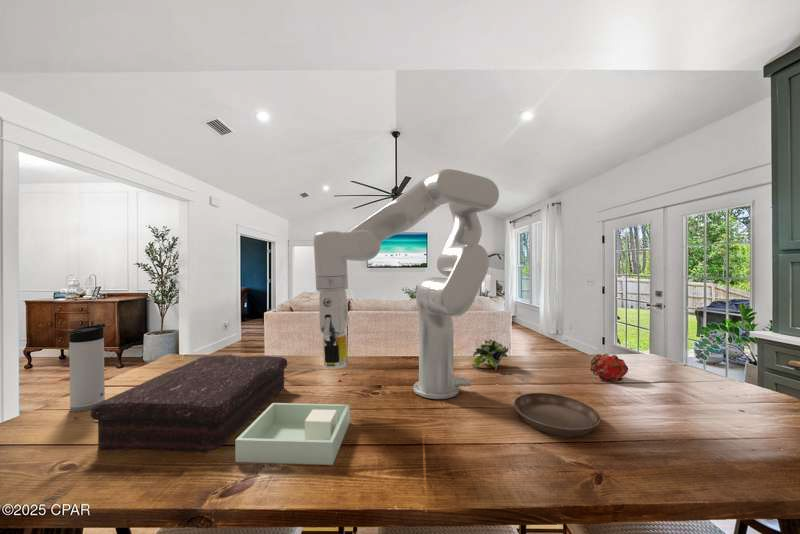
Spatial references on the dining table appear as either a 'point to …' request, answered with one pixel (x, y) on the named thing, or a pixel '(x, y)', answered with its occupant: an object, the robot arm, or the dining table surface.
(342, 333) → the supplement bottle
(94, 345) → the travel mug
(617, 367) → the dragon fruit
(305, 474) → the dining table surface
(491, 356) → the green leafy plant
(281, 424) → the pale green tray
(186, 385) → the folded brown towel
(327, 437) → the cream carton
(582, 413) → the plant saucer
